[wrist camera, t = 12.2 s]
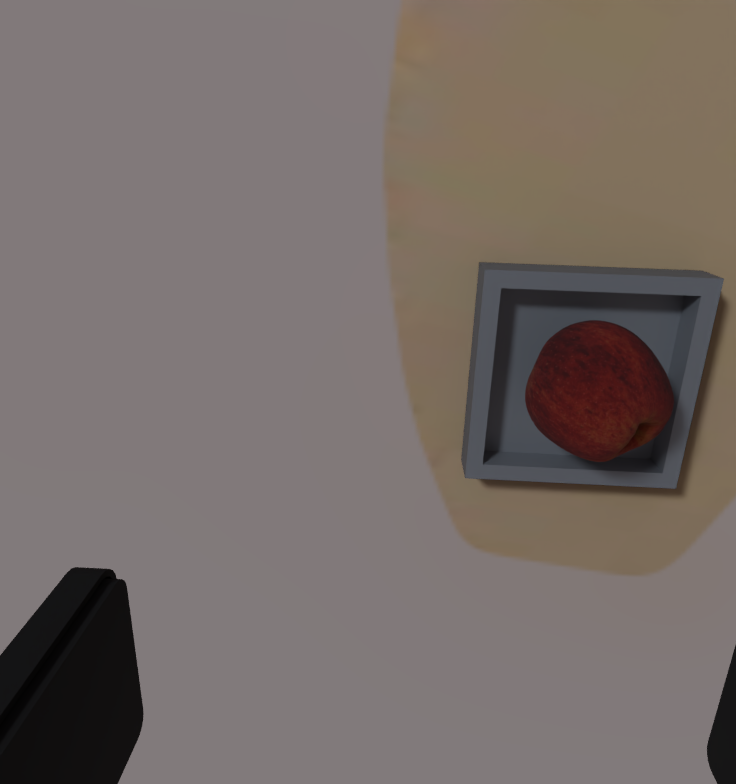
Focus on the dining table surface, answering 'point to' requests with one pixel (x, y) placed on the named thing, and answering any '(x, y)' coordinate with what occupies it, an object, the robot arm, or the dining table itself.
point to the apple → (598, 391)
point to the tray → (544, 319)
